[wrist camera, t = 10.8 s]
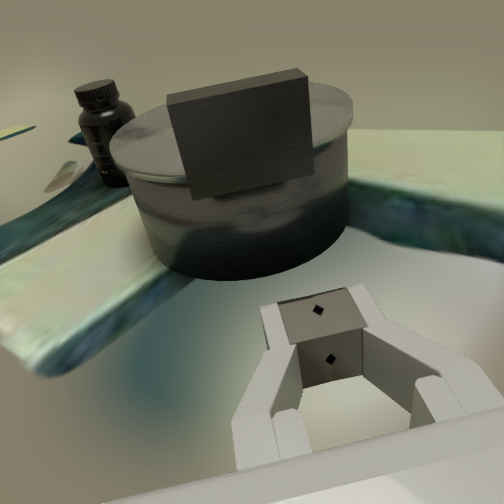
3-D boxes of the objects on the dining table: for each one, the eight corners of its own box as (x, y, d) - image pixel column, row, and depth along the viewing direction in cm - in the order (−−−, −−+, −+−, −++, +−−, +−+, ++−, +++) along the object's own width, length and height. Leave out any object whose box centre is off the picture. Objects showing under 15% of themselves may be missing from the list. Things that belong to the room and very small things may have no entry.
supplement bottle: (130, 162, 59) (100, 76, 52) (163, 168, 55) (135, 76, 48) (93, 184, 55) (54, 92, 48) (125, 191, 51) (88, 94, 44)
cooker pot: (384, 249, 34) (388, 145, 28) (146, 303, 33) (105, 207, 28) (314, 159, 50) (309, 83, 45) (154, 194, 49) (130, 120, 44)
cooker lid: (411, 153, 26) (419, 52, 23) (91, 223, 25) (48, 129, 22) (312, 79, 45) (308, 17, 41) (125, 117, 44) (105, 58, 41)
